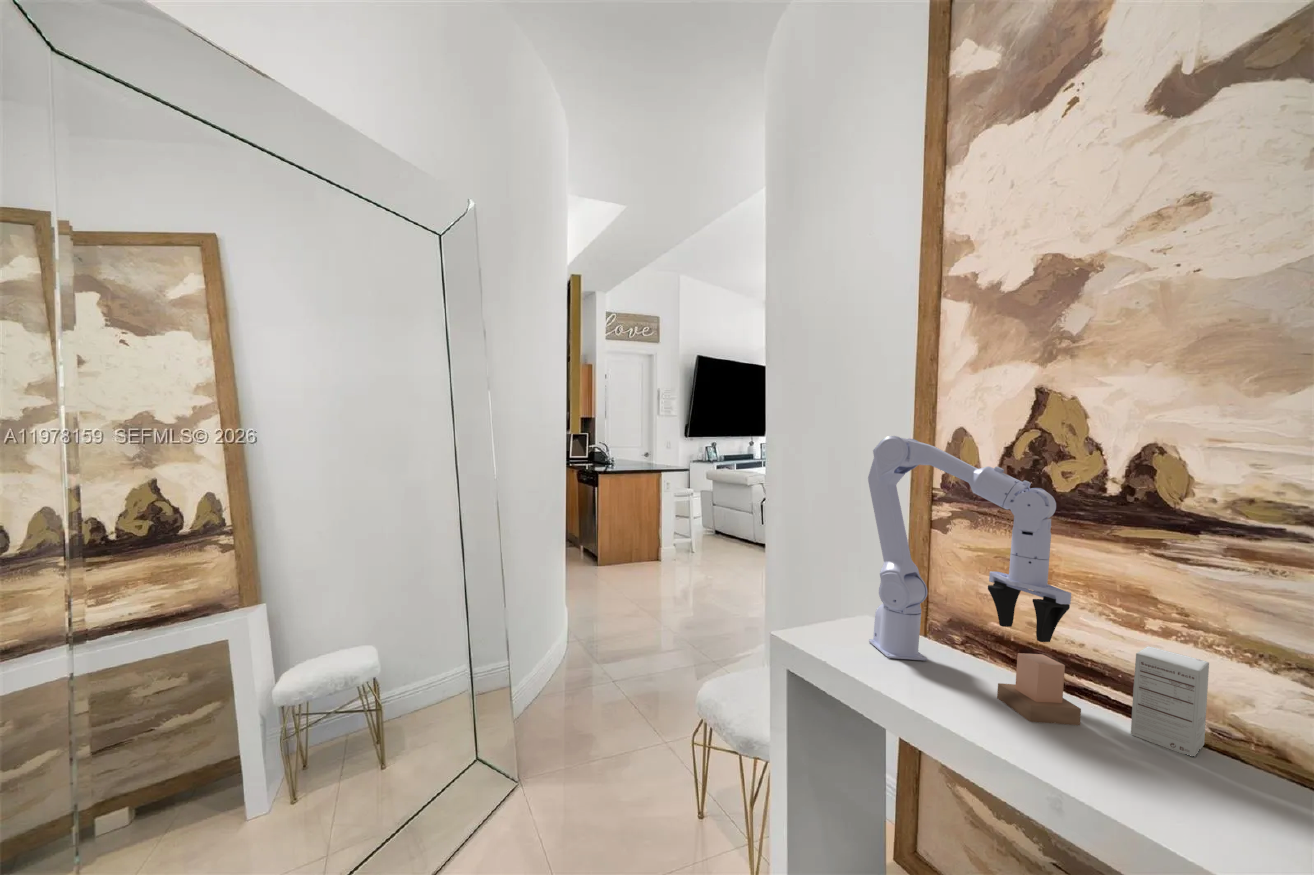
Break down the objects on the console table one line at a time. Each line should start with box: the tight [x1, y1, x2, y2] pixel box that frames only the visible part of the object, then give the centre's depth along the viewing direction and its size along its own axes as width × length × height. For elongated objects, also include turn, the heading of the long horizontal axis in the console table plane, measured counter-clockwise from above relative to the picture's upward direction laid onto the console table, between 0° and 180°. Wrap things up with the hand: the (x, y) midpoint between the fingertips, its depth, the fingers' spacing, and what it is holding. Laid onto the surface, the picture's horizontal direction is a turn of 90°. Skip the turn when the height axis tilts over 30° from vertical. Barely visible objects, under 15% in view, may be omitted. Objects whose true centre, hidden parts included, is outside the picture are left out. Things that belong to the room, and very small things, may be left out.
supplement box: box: [1130, 646, 1210, 757], centre depth 84 cm, size 7×7×13 cm
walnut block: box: [996, 682, 1082, 726], centre depth 90 cm, size 8×8×3 cm
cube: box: [1014, 652, 1066, 703], centre depth 90 cm, size 4×4×6 cm
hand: (1023, 633), depth 97 cm, fingers open, 7 cm apart
